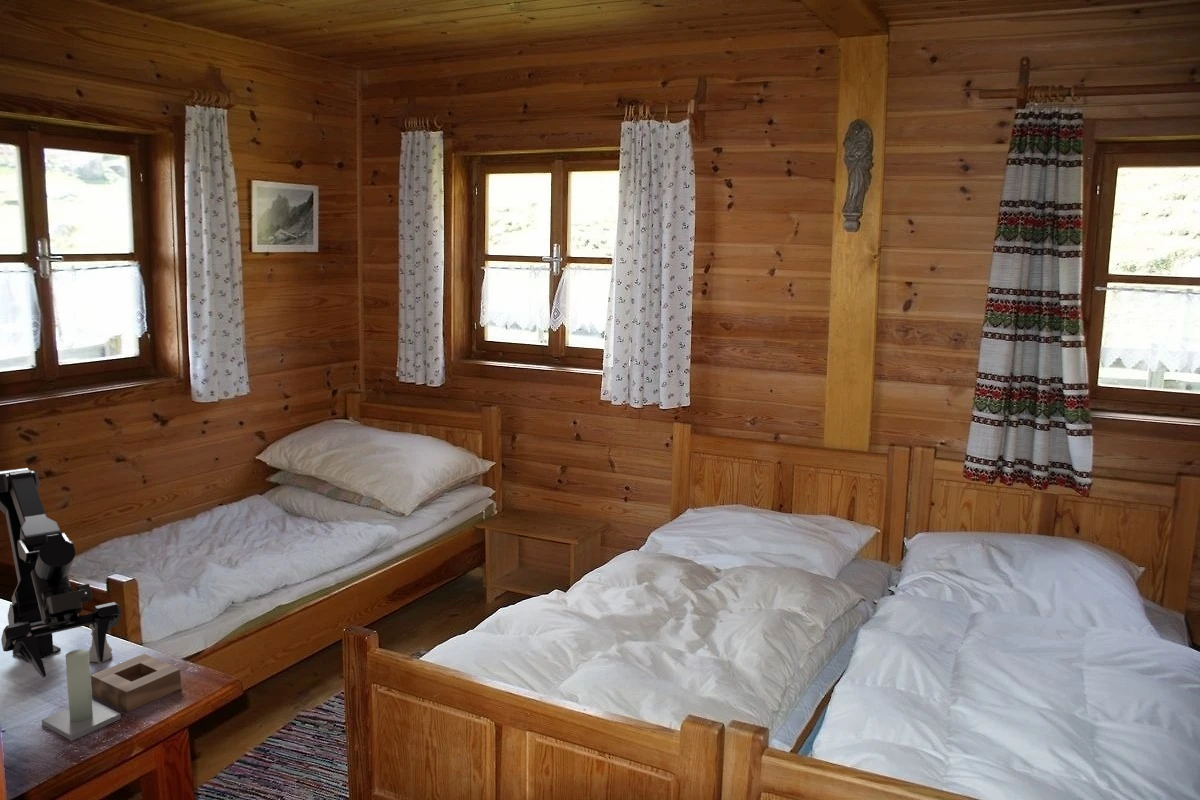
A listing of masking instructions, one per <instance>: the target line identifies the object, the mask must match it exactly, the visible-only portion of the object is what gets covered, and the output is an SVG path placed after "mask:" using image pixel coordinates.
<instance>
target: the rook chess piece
mask: <svg viewBox="0 0 1200 800" xmlns="http://www.w3.org/2000/svg"><path fill="white" fill-rule="evenodd" d="M88 627H89V629H90V630H91V633H90V635H91V637H92V638H91V646H90V648H89V650H88V651H89V662H91V663H95V662H97V663H96V664H98V663H99V660H98V657H97V653H96V647H95V642H94V637H93V632H94V629H95V628H93V626H92V624H90V625H88ZM112 651H113V650H112V647H111V646H110V645H109V643H108V640H107V636H106V637H105V645H104V655H103V661H104V662H106V661H109V660H110V659H111V658H112V656H113V652H112Z"/></svg>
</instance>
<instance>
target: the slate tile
mask: <svg viewBox="0 0 1200 800" xmlns="http://www.w3.org/2000/svg"><path fill="white" fill-rule="evenodd" d="M92 711H93V716H92V717H91V718H89V719H88V720H85V721H81V722H73V721H71V720H70V714H69V707H68V708H65V710H62V711H60V712H57V713H55V714H53V715H52V714H51V715H50V716H47V717H45V718H42V719H41V726H44V727H45V728H47V729H49V730H51V731H53V732H54V733H57V734H58V735H60V736H62V737H64V738H65V739H67V740H70V741H71V742H73V741H74V740H77V739H79V738H81V737H83V736H85V735H88V734H90V733H92V732H94V731H97V730H99V729H101V728H103V727H105V726H108V725H110V724H112V723H114V722H115V723H116V722H117V721H119V720H121V719H122V716H121V713H120V712H118V711H116V710H115V709H113V708H112V709H111V708H110V707H108V706H106V705H104V704H102V703H100V702H98V701H95V700H94V699H92Z"/></svg>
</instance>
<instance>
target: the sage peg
mask: <svg viewBox="0 0 1200 800" xmlns="http://www.w3.org/2000/svg"><path fill="white" fill-rule="evenodd" d="M65 666H66V667H65V669H66V683H67V696H68V698H67V699H68V708H69V714H70V720H71V721H73V722H81V721H85V720H88V719H89V718H91V717H92V716H93V711H92V700H93V697H92V696H93V695H92V689H91V668H90V666H91V665H90V660H89V650H88V649H74V650H72V651H69V652H67V653H66V654H65Z"/></svg>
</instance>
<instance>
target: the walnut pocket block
mask: <svg viewBox="0 0 1200 800" xmlns="http://www.w3.org/2000/svg"><path fill="white" fill-rule="evenodd" d="M90 679H91V695H92V696H93V697H96V698H97V699H100V700H101V701H103V702H106V703H108V704H109V705H112V706H114V707H115V708H118V709H120V710H122V711H124V712H126V713H129V711H130V712H131V710H132V711H134V710H136V709H139V708H141V707H142V706H146V705H147V704H150V703H152V702H154V701H156V700H158V699H161V698H163V697H165V696H167V695H170V694H172V693H173V692H177V691H178V689H179V690H181V688H182V683H181V682H182V681H181V669H180V668H178V667H177V666H174V665H171V664H169V663H167V662H164V661H162V660H159V659H158V658H155V657H153V656H151V655H148V654H146V653H142V654H140V655H138V656H135V657H133V658H130V659H128V660H127V659H126V660H125V661H122V662H120V663H118V664H115V665H113V666H110V667H108V668H104V669H103V670H100V671H98V672H95V673H93V674H90ZM138 707H139V708H138Z"/></svg>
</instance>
